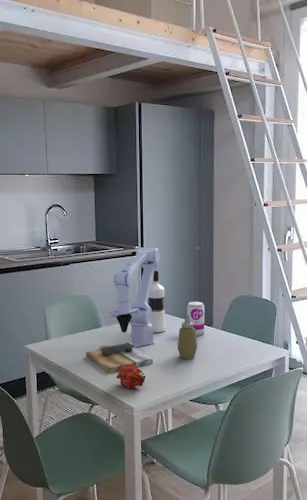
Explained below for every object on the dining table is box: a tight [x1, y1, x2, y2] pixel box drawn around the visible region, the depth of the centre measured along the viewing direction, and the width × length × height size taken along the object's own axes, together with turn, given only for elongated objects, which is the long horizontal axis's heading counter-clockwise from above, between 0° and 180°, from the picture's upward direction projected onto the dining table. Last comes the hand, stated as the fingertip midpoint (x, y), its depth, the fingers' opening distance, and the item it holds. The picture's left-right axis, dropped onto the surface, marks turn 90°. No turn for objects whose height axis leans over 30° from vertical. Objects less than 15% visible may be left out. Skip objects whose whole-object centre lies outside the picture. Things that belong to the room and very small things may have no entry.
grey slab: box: [85, 344, 154, 374], centre depth 196 cm, size 19×22×5 cm
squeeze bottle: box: [177, 313, 198, 360], centre depth 198 cm, size 8×8×18 cm
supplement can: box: [186, 301, 205, 337], centre depth 230 cm, size 8×8×15 cm
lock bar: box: [101, 340, 134, 355], centre depth 198 cm, size 14×3×4 cm, turn 119°
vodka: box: [147, 269, 167, 334], centre depth 235 cm, size 9×9×30 cm
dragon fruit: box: [115, 364, 146, 391], centre depth 169 cm, size 8×8×12 cm
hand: (124, 331), depth 203 cm, fingers closed
